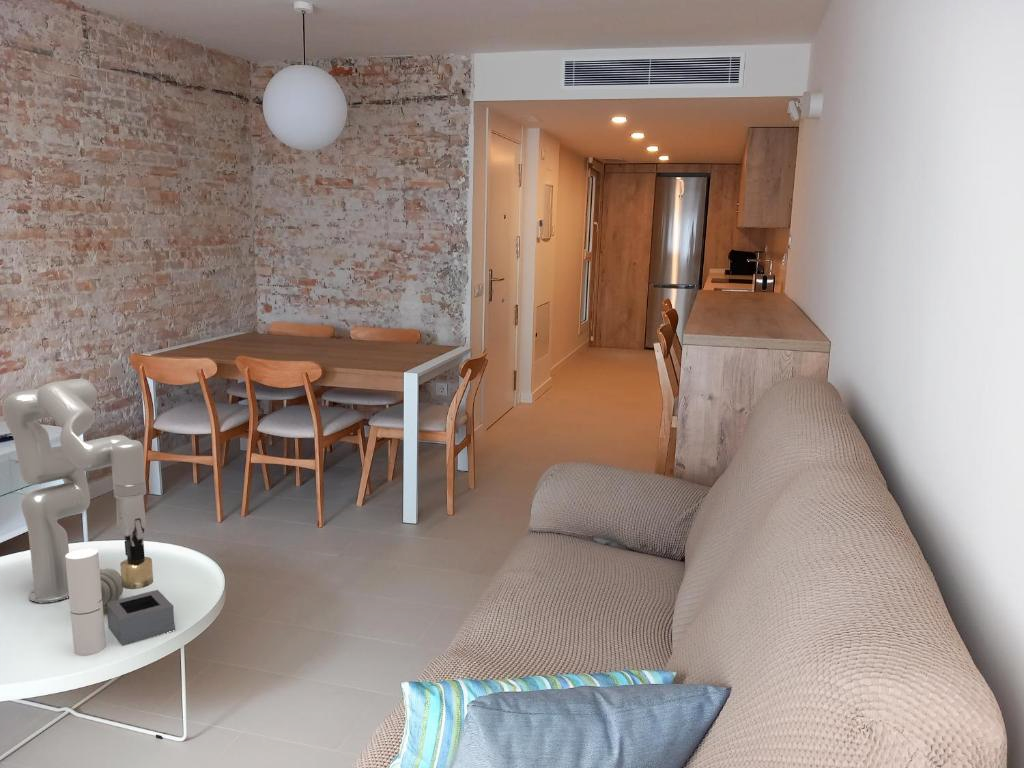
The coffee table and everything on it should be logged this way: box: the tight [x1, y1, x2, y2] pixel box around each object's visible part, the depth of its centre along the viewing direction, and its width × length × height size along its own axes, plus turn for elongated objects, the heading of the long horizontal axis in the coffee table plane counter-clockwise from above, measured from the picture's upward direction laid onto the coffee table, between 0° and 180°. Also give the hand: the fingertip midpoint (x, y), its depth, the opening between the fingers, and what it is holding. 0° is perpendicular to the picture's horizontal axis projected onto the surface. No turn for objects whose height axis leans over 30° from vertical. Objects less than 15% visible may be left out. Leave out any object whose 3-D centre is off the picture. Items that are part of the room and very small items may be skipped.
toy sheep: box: [100, 567, 124, 616], centre depth 228 cm, size 11×17×11 cm, turn 4°
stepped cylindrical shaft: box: [120, 537, 154, 590], centre depth 213 cm, size 7×7×12 cm
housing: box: [106, 589, 176, 647], centre depth 216 cm, size 13×13×7 cm
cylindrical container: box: [65, 547, 107, 656], centre depth 204 cm, size 7×7×25 cm
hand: (135, 556), depth 213 cm, fingers closed on stepped cylindrical shaft, 4 cm apart
